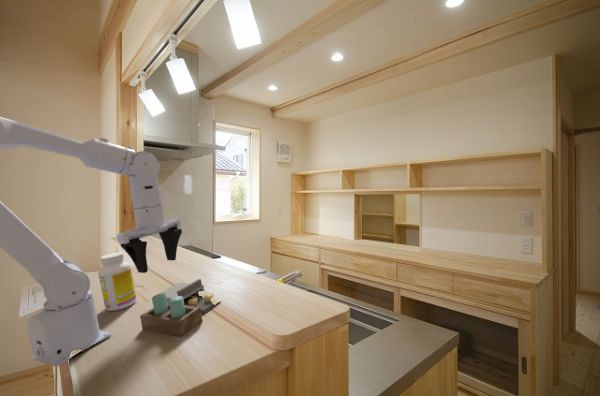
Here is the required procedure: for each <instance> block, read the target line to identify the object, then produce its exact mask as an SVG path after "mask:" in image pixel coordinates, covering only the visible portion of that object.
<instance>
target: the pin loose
mask: <svg viewBox="0 0 600 396" xmlns="http://www.w3.org/2000/svg"><path fill="white" fill-rule="evenodd" d="M184 300H185V299H184ZM184 300H183V297H182V296H177V297H174V298H171V299H170V300H169V305H170V311H171V317H172V318H176V319H180V318H182V317H183V316H185V315H186V313H185V306H184V305H185V301H184Z"/></svg>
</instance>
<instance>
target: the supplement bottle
mask: <svg viewBox="0 0 600 396" xmlns="http://www.w3.org/2000/svg"><path fill="white" fill-rule="evenodd" d="M124 257H125V256H124V252H121V251H120V252H114V253H109V254H108V253H107V254H105V255H102V256H101V257H100V263H101V264H102V267H101V268H100V269H98V271H97V272H98V279H99V283H100V290H101V294H102V299H103V304H104V307H105V309H106V310H107V311H109V312H115V311H120V310H123V309H125V308H128V307H130V306H132V305H134V303H135V302H136V301H137V294H136V290H135V283H134V278H133V273H132V268H131V264H130V263H129V262H127V261H124Z"/></svg>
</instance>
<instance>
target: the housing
mask: <svg viewBox="0 0 600 396" xmlns="http://www.w3.org/2000/svg"><path fill="white" fill-rule="evenodd" d="M199 291H204V292H205V287H204V284H203V283H202V279H200V278H197V279H196V280H194V281H192V282H191V283H185V282H178V283H175V284H174V285H172V286H170V287H168V288H167V289H164V290H163V291H160V292H159V293H157V294H156V295H158V294H162V293H164V294H166V299H167V303H169V300H170V299H171V298H174V297H177V296H182V297H183V300H186V299H187V298H188V297H191V298H194V297H196V298H197V297H198V296H199V294H198V292H199Z"/></svg>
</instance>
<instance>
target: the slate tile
mask: <svg viewBox="0 0 600 396" xmlns="http://www.w3.org/2000/svg"><path fill="white" fill-rule="evenodd" d="M213 296H214V294H213V293H208V294H205V296H204V298H203V297H202V296H198V297H191V298H189V299H187V303H186V304H185V305H187V306H194V307H200V308H201V314H203V315H205V314H206V313H207V312H208V311H210V310H212V308H214V307H215V306H214V304H213V303H212V302H211V300H210V299H211V298H212V297H213Z"/></svg>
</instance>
